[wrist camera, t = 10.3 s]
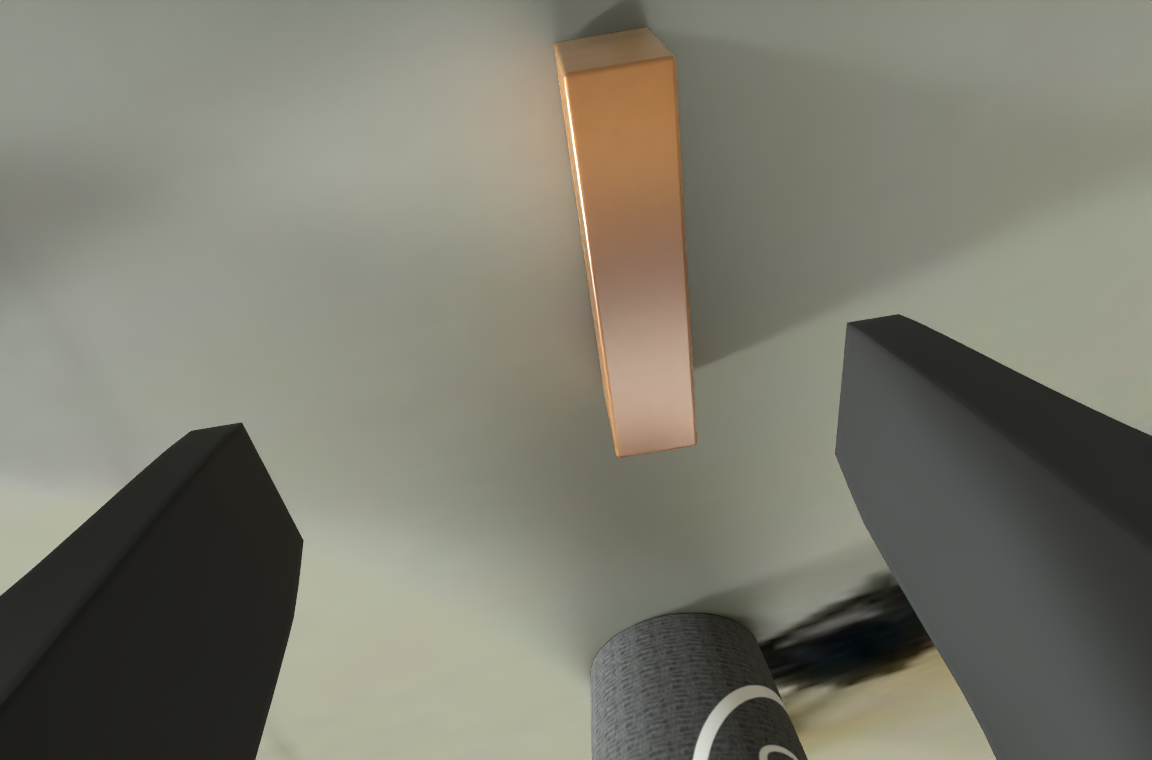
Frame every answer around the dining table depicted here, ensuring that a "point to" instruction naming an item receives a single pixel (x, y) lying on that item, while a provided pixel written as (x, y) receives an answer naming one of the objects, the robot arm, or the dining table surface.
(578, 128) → the stick
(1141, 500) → the robot arm
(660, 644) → the coffee cup
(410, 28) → the dining table surface
